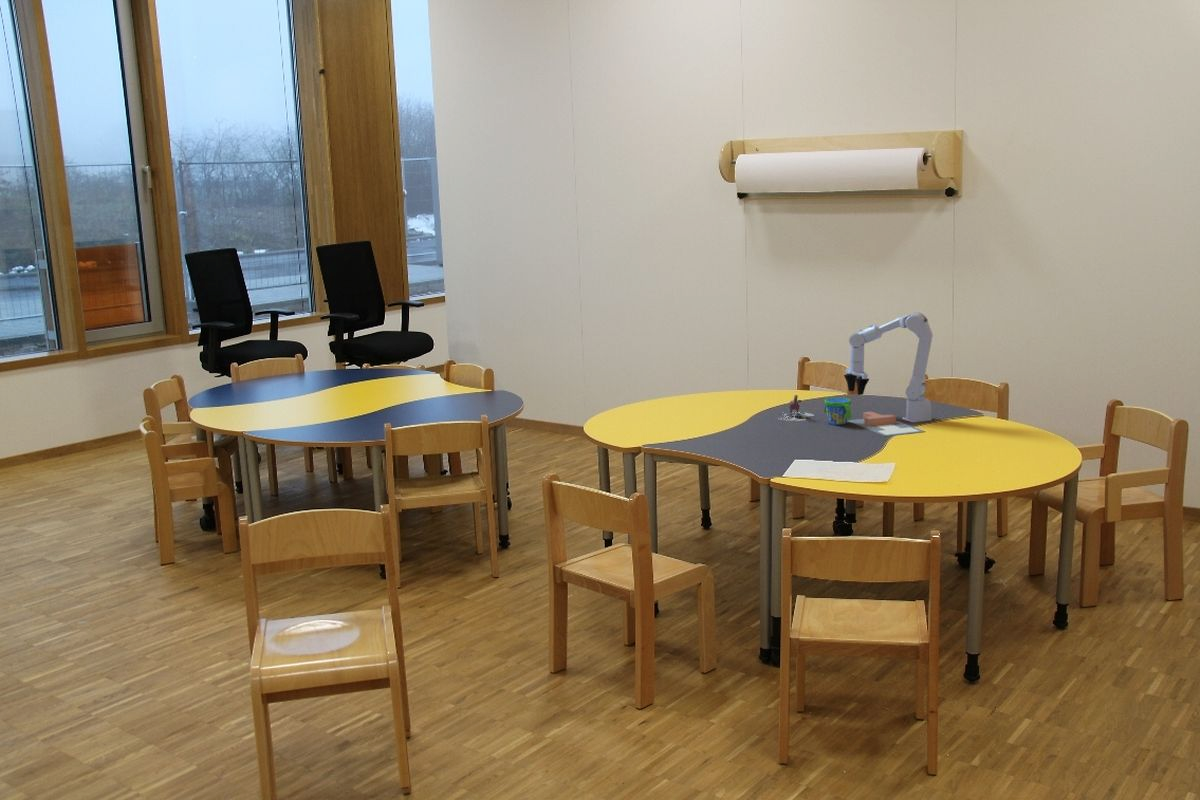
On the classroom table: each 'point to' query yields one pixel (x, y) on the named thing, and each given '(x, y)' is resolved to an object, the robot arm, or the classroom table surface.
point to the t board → (889, 428)
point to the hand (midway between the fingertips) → (855, 392)
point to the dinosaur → (795, 406)
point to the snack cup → (837, 410)
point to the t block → (878, 419)
